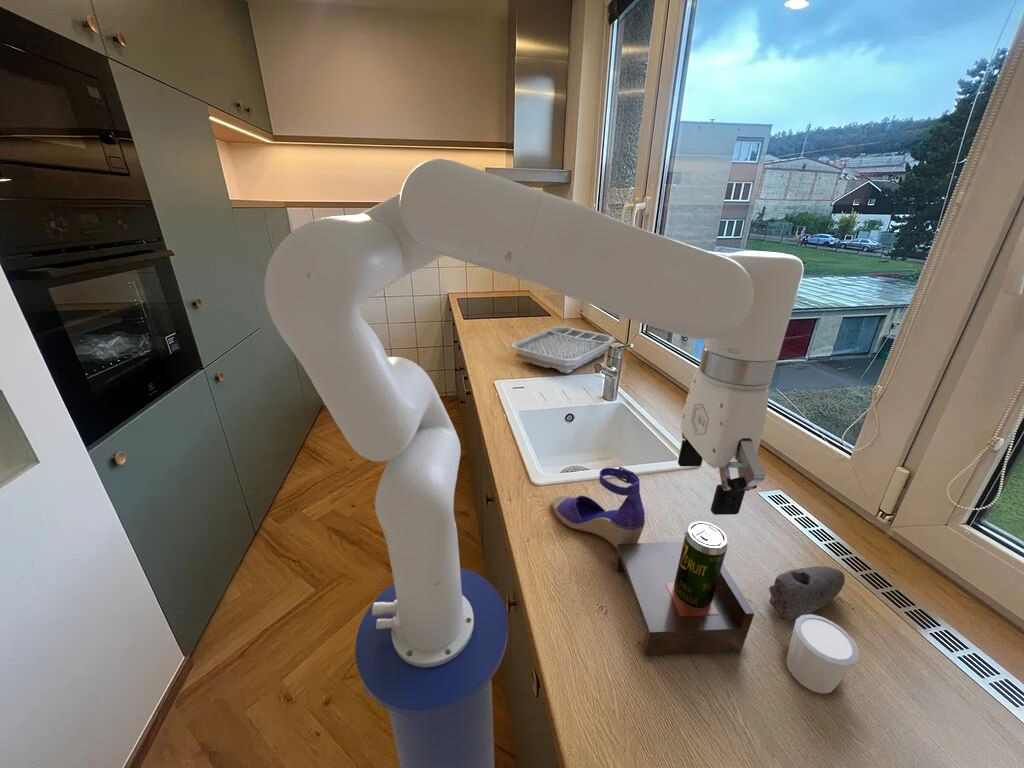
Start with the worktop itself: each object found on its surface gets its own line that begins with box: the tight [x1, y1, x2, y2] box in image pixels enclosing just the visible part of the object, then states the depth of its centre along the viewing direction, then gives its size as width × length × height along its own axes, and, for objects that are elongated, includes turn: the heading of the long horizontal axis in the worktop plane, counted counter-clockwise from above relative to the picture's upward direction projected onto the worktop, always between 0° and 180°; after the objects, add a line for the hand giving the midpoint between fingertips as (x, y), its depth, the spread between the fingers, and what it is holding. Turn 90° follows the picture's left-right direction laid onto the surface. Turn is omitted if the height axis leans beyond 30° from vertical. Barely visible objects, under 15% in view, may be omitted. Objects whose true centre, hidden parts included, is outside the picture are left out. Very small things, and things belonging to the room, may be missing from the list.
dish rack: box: [510, 326, 617, 374], centre depth 167 cm, size 32×37×8 cm
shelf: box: [614, 541, 755, 657], centre depth 64 cm, size 14×16×8 cm
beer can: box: [674, 521, 728, 610], centre depth 59 cm, size 5×5×12 cm
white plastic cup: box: [786, 613, 859, 695], centre depth 55 cm, size 7×7×7 cm
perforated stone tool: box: [768, 565, 846, 622], centre depth 64 cm, size 15×5×7 cm, turn 108°
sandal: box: [552, 466, 646, 551], centre depth 78 cm, size 8×20×15 cm, turn 33°
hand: (705, 487), depth 54 cm, fingers open, 9 cm apart
